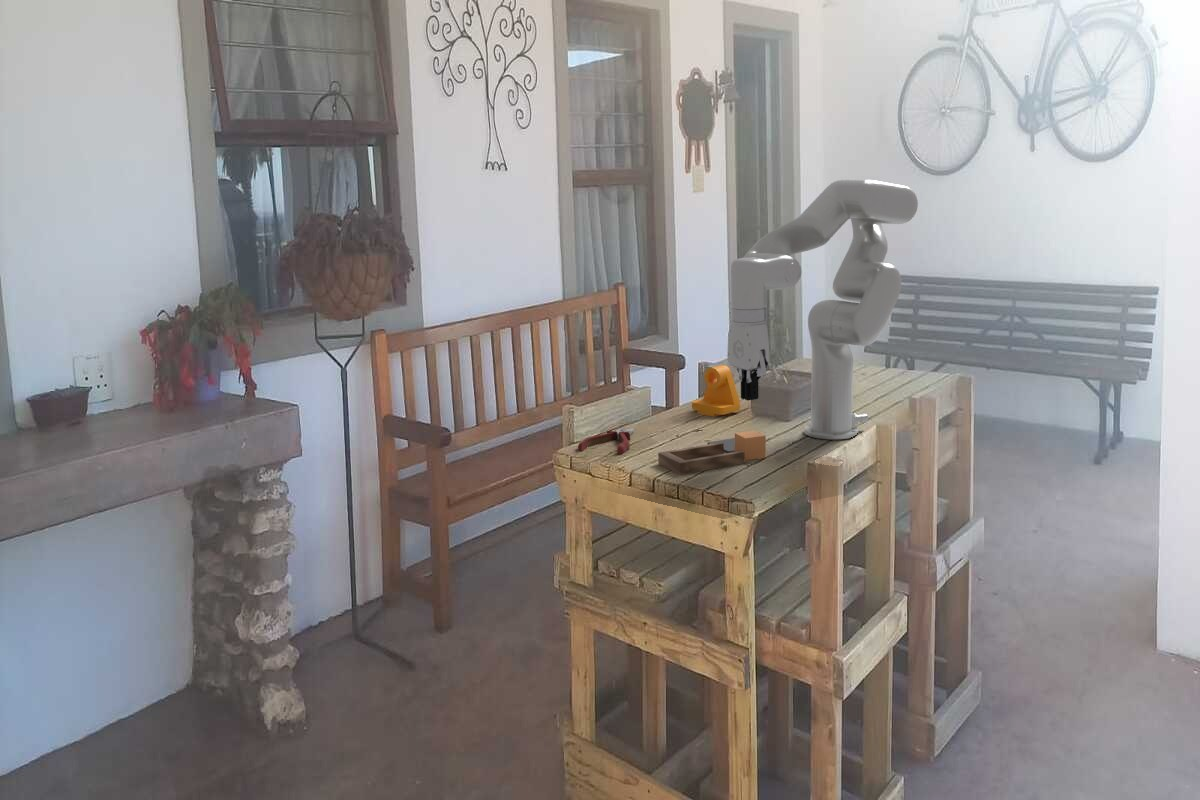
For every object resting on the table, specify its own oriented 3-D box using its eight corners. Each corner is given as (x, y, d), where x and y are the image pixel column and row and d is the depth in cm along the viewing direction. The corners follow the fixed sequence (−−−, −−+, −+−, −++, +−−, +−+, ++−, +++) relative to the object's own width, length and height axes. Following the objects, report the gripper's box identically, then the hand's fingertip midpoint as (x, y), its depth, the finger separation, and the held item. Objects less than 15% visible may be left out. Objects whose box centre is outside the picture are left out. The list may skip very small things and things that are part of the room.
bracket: (690, 411, 272) (689, 366, 269) (708, 406, 277) (708, 362, 274) (721, 418, 264) (721, 372, 261) (740, 413, 269) (740, 367, 266)
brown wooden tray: (720, 452, 233) (720, 442, 232) (744, 463, 225) (744, 451, 224) (658, 463, 226) (658, 452, 226) (680, 474, 218) (680, 463, 217)
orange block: (754, 452, 233) (754, 430, 232) (765, 457, 229) (765, 435, 227) (734, 454, 232) (734, 433, 230) (745, 460, 227) (745, 438, 226)
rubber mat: (736, 440, 243) (736, 437, 243) (758, 448, 235) (758, 446, 235) (707, 444, 240) (707, 442, 240) (728, 454, 232) (728, 451, 232)
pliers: (652, 434, 252) (652, 424, 251) (622, 457, 234) (622, 446, 233) (608, 431, 256) (608, 421, 256) (576, 453, 238) (575, 442, 238)
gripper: (715, 313, 229) (716, 394, 233) (754, 322, 215) (755, 408, 220) (743, 310, 232) (744, 390, 236) (784, 318, 218) (784, 403, 223)
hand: (749, 398), depth 228 cm, fingers closed
